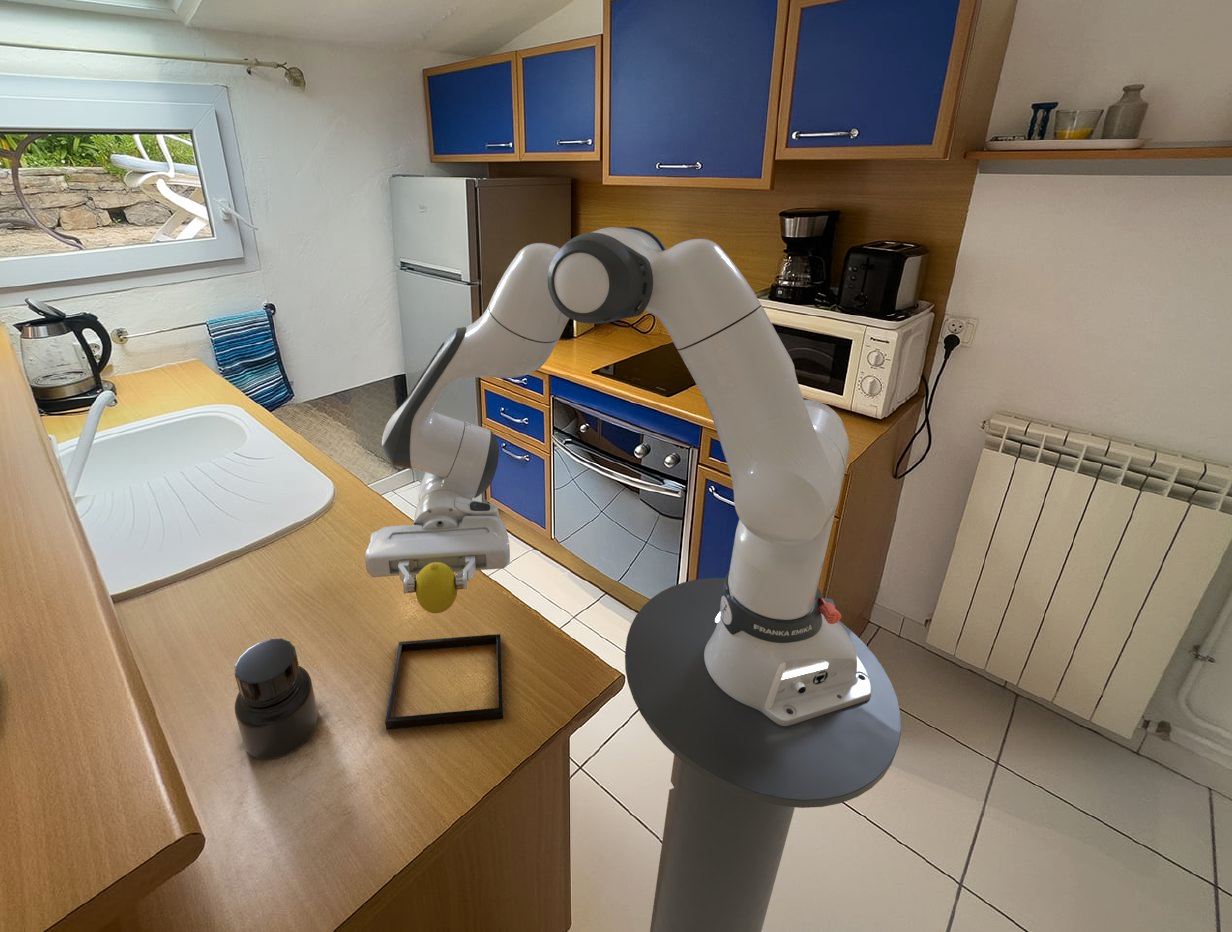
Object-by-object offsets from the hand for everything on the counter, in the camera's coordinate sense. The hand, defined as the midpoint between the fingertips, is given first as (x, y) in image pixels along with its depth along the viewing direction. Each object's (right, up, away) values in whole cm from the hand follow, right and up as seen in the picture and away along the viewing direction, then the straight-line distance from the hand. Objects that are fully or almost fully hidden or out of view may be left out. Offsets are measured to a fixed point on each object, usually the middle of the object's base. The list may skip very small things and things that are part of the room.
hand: (435, 587), depth 77 cm
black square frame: (+1, -15, +5) cm, 16 cm away
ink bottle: (-20, -18, -1) cm, 27 cm away
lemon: (0, -4, +3) cm, 5 cm away
